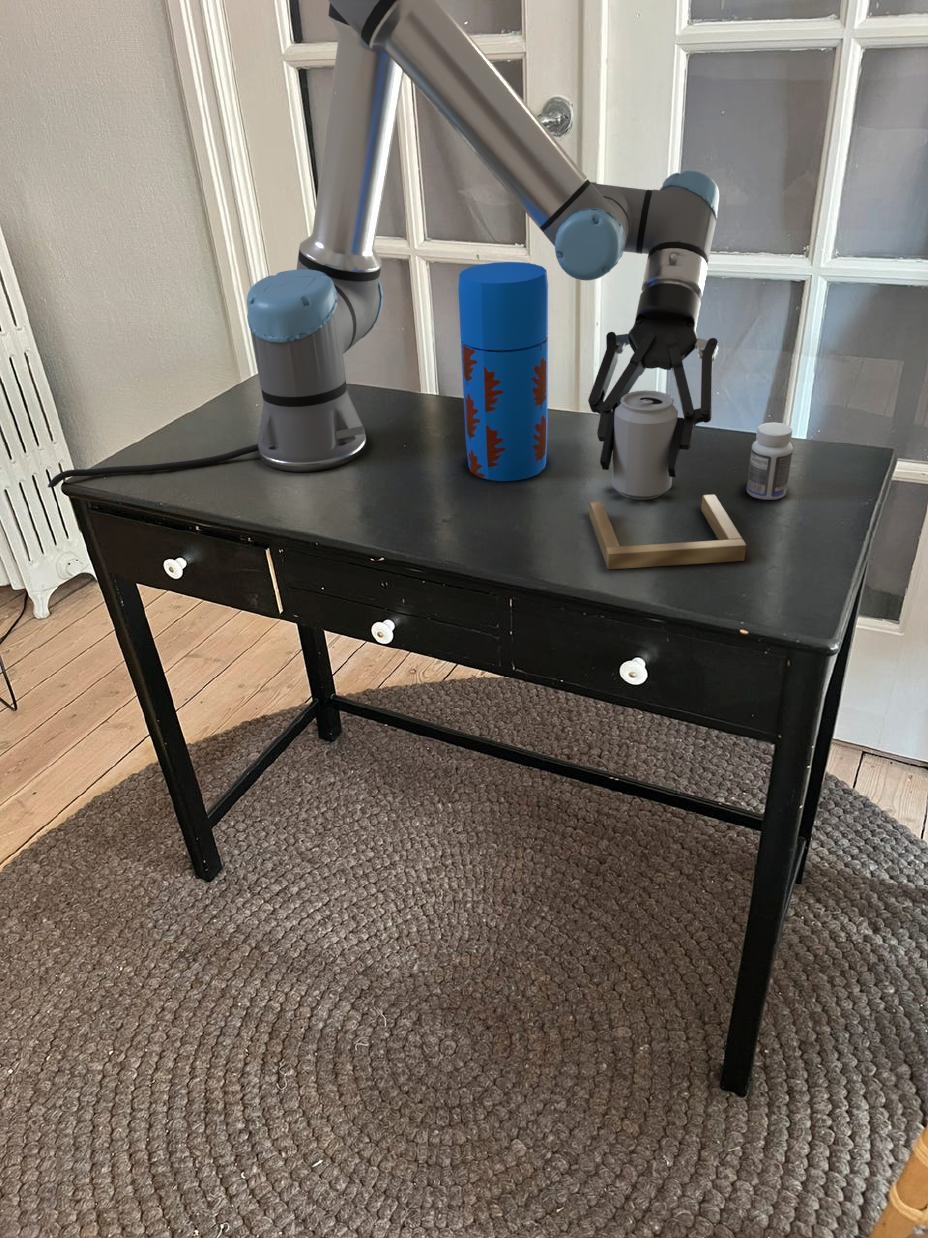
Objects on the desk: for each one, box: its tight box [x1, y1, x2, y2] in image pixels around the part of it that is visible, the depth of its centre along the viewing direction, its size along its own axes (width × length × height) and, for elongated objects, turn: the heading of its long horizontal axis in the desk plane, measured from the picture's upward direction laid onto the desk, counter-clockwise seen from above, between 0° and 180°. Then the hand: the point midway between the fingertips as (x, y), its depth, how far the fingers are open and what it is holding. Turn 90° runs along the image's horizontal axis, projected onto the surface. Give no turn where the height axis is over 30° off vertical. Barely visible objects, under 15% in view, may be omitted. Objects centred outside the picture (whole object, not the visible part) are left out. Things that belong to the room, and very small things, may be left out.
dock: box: [589, 494, 747, 570], centre depth 105 cm, size 15×12×2 cm
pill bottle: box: [746, 421, 794, 501], centre depth 111 cm, size 5×5×8 cm
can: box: [610, 389, 679, 501], centre depth 112 cm, size 8×8×12 cm
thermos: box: [457, 261, 549, 482], centre depth 117 cm, size 11×11×25 cm
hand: (637, 469), depth 111 cm, fingers closed on can, 7 cm apart
